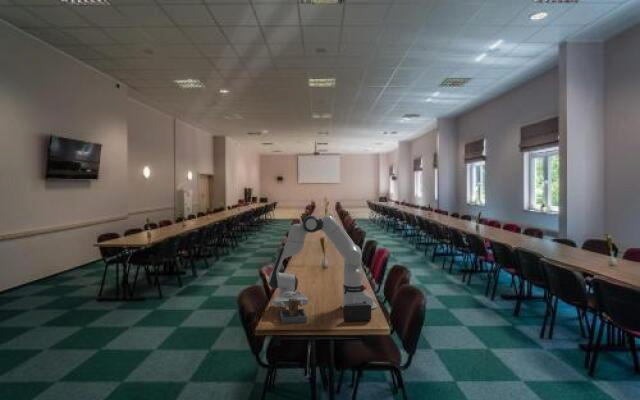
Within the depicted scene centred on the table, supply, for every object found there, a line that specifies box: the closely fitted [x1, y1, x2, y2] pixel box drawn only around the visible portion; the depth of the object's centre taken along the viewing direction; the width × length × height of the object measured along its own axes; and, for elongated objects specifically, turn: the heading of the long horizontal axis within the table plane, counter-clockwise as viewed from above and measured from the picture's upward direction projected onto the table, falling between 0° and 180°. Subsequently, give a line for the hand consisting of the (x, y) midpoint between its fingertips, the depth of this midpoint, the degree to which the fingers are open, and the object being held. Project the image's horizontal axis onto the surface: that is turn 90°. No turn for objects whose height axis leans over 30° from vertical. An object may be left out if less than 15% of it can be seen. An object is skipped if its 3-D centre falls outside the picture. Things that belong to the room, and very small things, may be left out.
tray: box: [279, 308, 308, 324], centre depth 210 cm, size 14×14×3 cm
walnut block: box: [288, 298, 299, 317], centre depth 210 cm, size 4×4×10 cm
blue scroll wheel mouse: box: [342, 303, 372, 323], centre depth 208 cm, size 16×5×9 cm, turn 98°
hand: (293, 305), depth 210 cm, fingers open, 8 cm apart
